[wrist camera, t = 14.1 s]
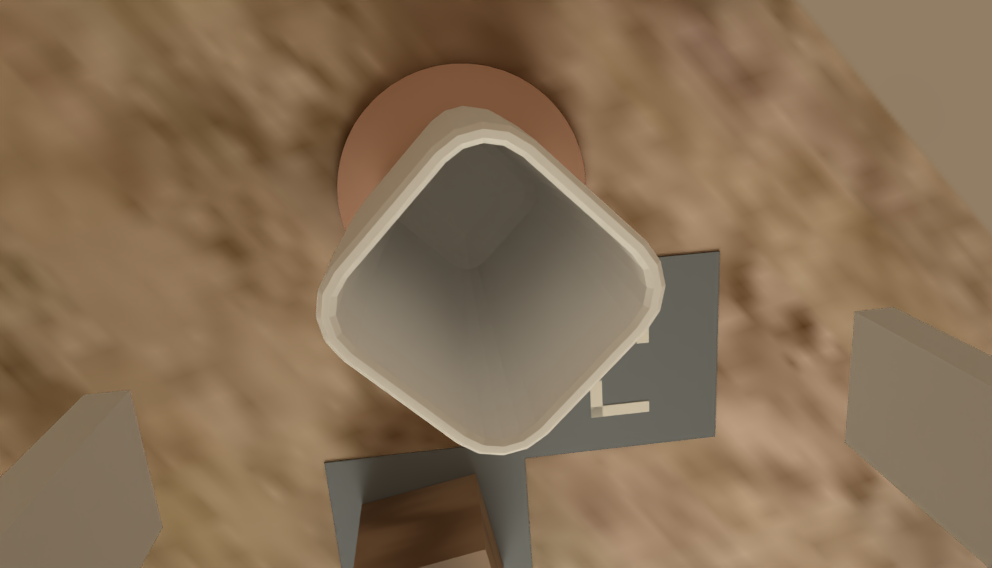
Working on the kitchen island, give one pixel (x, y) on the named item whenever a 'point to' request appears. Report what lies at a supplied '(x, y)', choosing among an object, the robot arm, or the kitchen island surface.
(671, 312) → the code tile
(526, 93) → the salmon round part
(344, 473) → the code tile
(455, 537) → the walnut block
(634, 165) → the kitchen island surface
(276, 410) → the kitchen island surface
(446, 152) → the cup
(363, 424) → the kitchen island surface
